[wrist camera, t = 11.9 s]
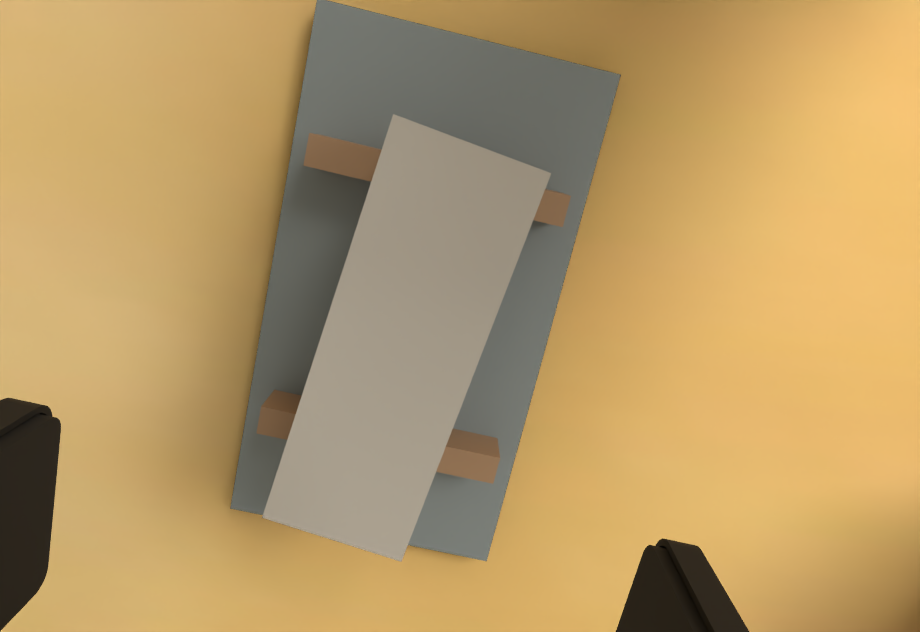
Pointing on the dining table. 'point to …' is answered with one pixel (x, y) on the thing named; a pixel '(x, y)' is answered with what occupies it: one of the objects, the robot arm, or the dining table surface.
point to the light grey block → (403, 336)
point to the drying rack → (339, 208)
